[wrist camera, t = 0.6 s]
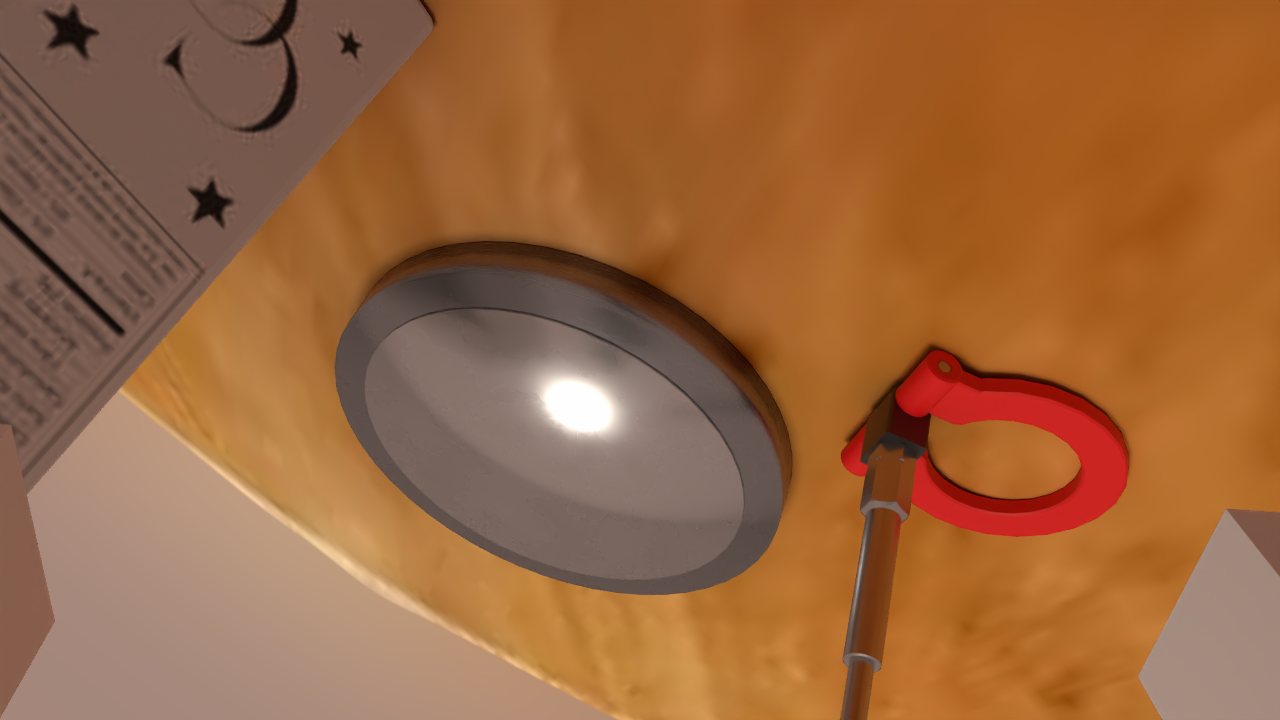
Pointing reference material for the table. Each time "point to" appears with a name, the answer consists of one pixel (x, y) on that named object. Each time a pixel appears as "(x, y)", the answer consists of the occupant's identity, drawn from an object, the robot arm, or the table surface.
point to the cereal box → (153, 171)
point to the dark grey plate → (566, 418)
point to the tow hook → (906, 475)
